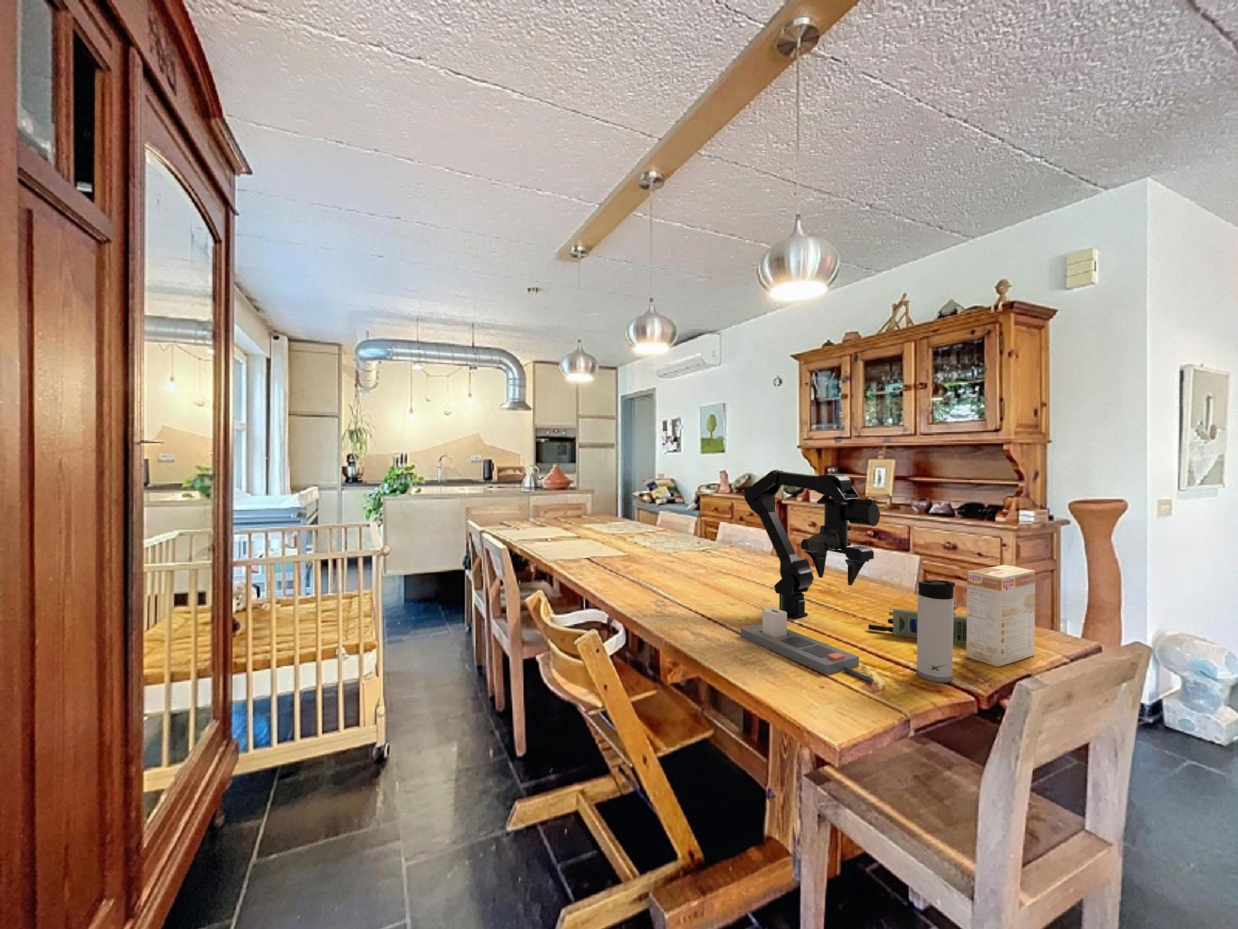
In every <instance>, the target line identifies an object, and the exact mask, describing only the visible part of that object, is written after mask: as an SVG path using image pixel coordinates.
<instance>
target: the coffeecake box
mask: <svg viewBox="0 0 1238 929" xmlns="http://www.w3.org/2000/svg"><path fill="white" fill-rule="evenodd" d="M1035 611H1036V570H1033V569H1029V568H1023V567H1019V566H1013V565H1007V564H1001V565H997V566H992V567H985V568H980V569H975V570H974V569H973V570H969V571H966V616H967V640H966V644H965V645H966V649H965V650H966V651H965V652H966V654H965V657H966V658H968V659H972V660H975V661H978V662H981V663H984V664H987V665H990V666H993V667H995V668H1000V667H1002V666H1005V665H1008V664H1011V663H1015V662H1018V661H1021V660H1025V659H1027V658H1028V659H1029V658H1030V657H1033V656H1035V629H1036V628H1035V624H1036V622H1035V621H1036V620H1035V619H1036V616H1035V614H1036V612H1035Z"/></svg>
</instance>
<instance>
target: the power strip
mask: <svg viewBox="0 0 1238 929" xmlns="http://www.w3.org/2000/svg"><path fill="white" fill-rule="evenodd" d="M762 629H763V623H759V624H757V625H756V624H755V625H751V626H744V627H741V628H740V637H741V638H743V639H746V640H748V641H750V642H752V643H754V644H757V645H759V646H761V647H764V648H766V649H768V650H770V651H773V652H774V653H777V654H779V655H781V656H783V657H786V658H787V659H790V660H792V661H795V662H796V663H799V664H801V665H803V666H805V667H808V668H810V669H812V670H814V671H816V672H819V673H821V674H823V675H825V676H829V675H832V674H835V673H839V672H842V671H843V672H845V673H847V674H850V675H852V676H855V677H857V678H859V679H861V680H865V681H866V682H869V683H874V678H873V677H872V676H870V675H867V674H864V673H862V672H860V671H858V670H855V669H852V668H856V667H859V666H860V664H859V663H860V656H859V655H855V654H853V653H851V652H848V651H845V650H842V649H840V648H838V647H835V646H832V645H830V644H827V643H825V642H822V641H820V640H816V639H814V638H811V637H809V636H807V635H805V634H802V633H799V632H796V631H794V630H793V629H792V630H791V629H788V628H787V636H783V637H778V638H773V637H771V636H768V635H766V634H763V633H762Z"/></svg>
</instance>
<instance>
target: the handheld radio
mask: <svg viewBox="0 0 1238 929" xmlns="http://www.w3.org/2000/svg"><path fill="white" fill-rule="evenodd" d="M888 610H891V611H888V616H892V618H888V619H887V623H888V624H890V625H892V626H885V625H877V624H876V625H875V624H870V623H869V624H868V626H867V627H868V630H870V631H879V632H889V633H892V635H893V636H896V637H903V638H904V637H905V638H910V639H912V638H913V639H917V622H918V610H914V609H913V610H912V609H901V608H893V607H888ZM966 640H967V615H959V614H958V615H957V614H955V615H953V644H958V643H959V645H966Z"/></svg>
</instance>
